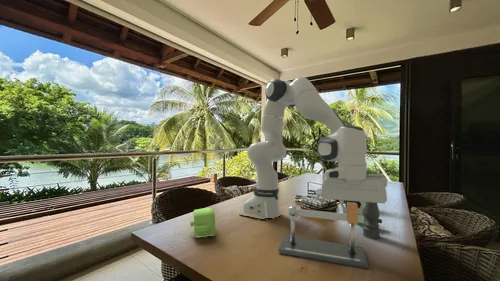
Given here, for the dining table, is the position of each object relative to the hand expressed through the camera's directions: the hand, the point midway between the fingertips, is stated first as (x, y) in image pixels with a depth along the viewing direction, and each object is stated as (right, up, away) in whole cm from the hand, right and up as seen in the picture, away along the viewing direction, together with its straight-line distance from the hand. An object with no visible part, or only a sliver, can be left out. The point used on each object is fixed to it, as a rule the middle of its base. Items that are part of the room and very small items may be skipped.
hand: (352, 213), depth 77 cm
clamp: (+20, -15, +28) cm, 38 cm away
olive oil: (+28, -16, +59) cm, 67 cm away
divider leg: (0, -13, 0) cm, 13 cm away
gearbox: (-55, -15, +21) cm, 61 cm away
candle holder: (+16, -15, +18) cm, 28 cm away
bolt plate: (-9, -15, +3) cm, 18 cm away
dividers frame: (-8, -13, +5) cm, 16 cm away
